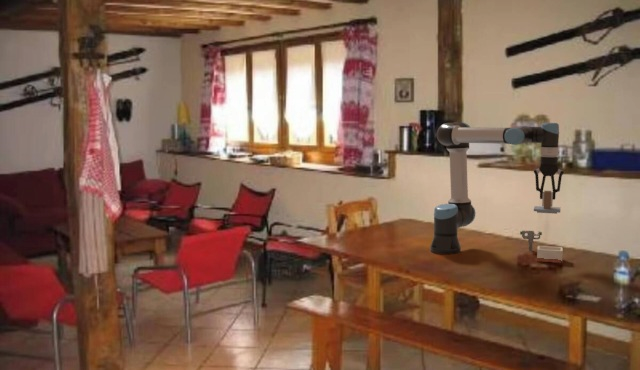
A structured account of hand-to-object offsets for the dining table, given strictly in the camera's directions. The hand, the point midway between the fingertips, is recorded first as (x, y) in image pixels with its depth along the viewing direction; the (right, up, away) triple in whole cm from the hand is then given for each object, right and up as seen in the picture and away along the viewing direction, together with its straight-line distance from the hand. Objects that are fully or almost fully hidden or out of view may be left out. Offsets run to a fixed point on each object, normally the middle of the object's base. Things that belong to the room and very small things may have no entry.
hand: (547, 206), depth 300 cm
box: (+2, -26, +2) cm, 26 cm away
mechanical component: (0, -23, +23) cm, 33 cm away
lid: (0, -2, 0) cm, 2 cm away
